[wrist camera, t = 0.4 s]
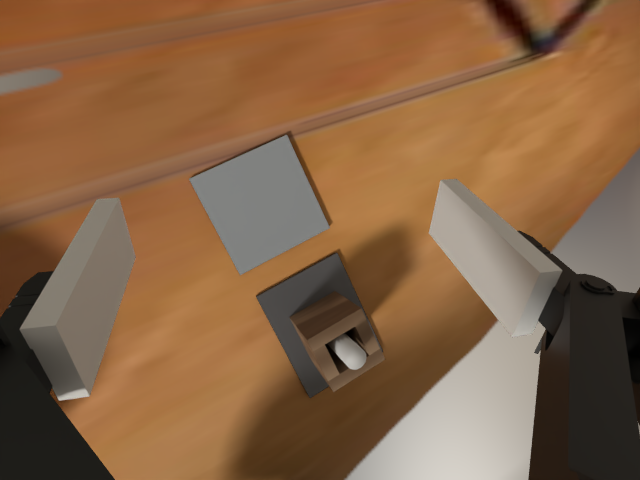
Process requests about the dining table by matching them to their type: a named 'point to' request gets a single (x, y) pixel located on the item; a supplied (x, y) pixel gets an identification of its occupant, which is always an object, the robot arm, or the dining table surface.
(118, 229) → the robot arm
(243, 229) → the slate mat
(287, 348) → the post stand
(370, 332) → the walnut collar
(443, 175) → the dining table surface
